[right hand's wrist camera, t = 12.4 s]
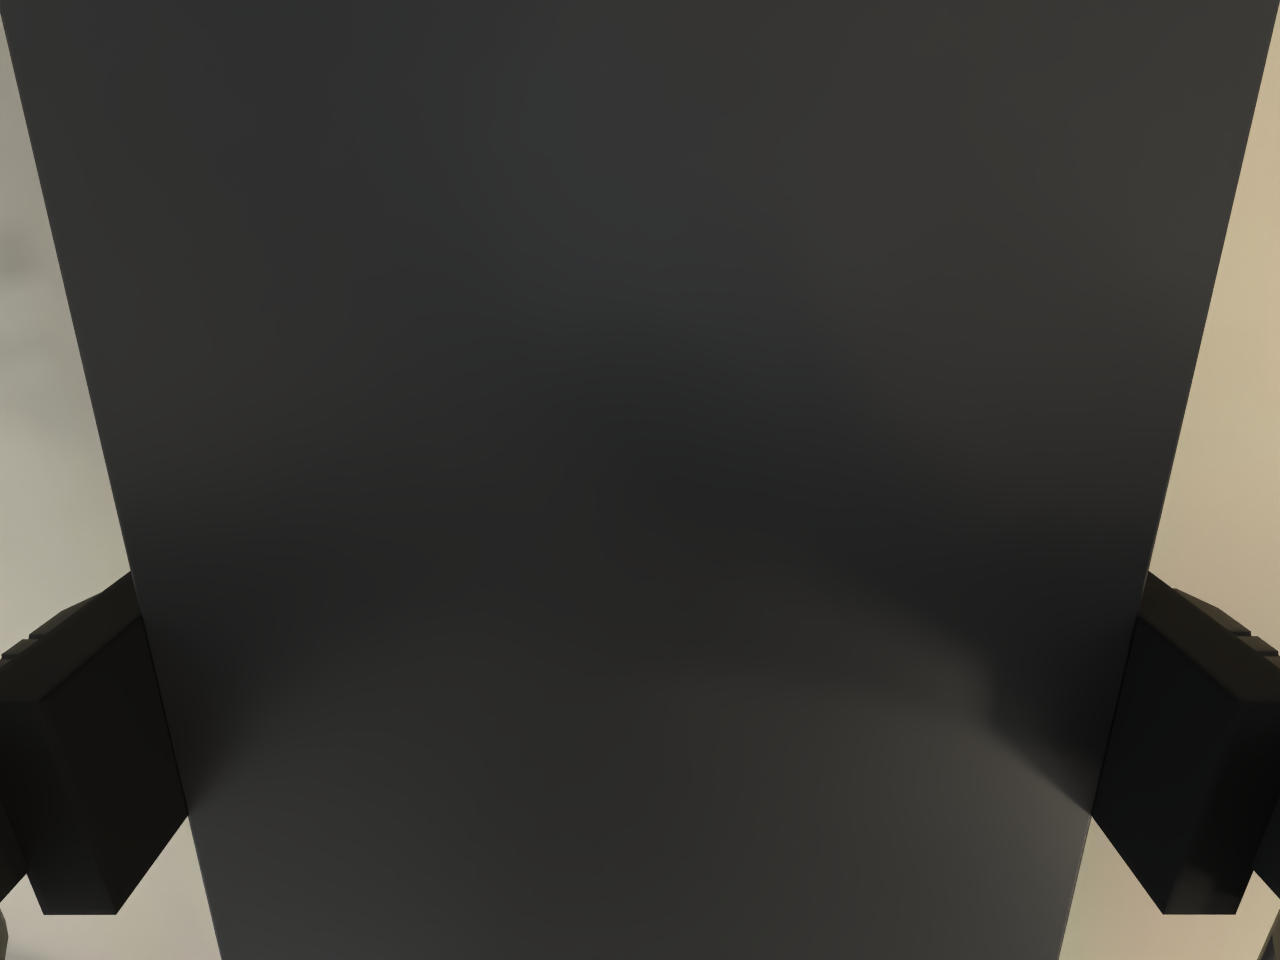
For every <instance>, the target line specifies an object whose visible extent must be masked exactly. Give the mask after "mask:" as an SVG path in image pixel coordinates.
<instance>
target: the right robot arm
mask: <svg viewBox="0 0 1280 960" xmlns="http://www.w3.org/2000/svg"><path fill="white" fill-rule="evenodd" d="M187 816H188V814H187V810H186V805H185V801H184V797H183V792H182V788H181V784H180V780H179V775H178V771H177V767H176V762H175V758H174V754H173V750H172V745H171V741H170V737H169V732H168V728H167V724H166V720H165V715H164V711H163V707H162V702H161V698H160V694H159V690H158V685H157V681H156V677H155V673H154V668H153V664H152V660H151V655H150V651H149V647H148V643H147V638H146V634H145V630H144V625H143V621H142V617H141V613H140V608H139V604H138V600H137V595H136V591H135V587H134V583H133V578H132V574H131V571H130V572H128V573H127V574H126V575H124V576H123V577H122V578H120V579H119V580H118V581H116V582H115V583H114V584H112V585H111V586H110V587H108V588H107V589H105V590H104V591H103V592H101V593H99V594H97V595H95V596H93V597H91V598H89V599H86V600H84V601H82V602H80V603H78V604H76V605H74V606H71V607H69V608H67V609H65V610H63V611H61V612H60V613H58V614H57V615H56V616H54V617H53V618H51V619H50V620H49V621H47V622H46V623H44V624H43V625H42V626H40V627H39V628H38V629H36V630H35V631H33V632H32V633H31V634H29V639H22V640H21V641H20V642H18V643H17V644H15V645H14V646H13V647H11V648H10V649H9V650H7V651H6V652H4V653H3V654H2V658H1V660H0V902H1V901H2V900H3V899H4V898H5V897H6V896H7V894H8V893H9V892H10V891H11V890H12V889H13V888H14V887H15V886H16V884H17V883H18V882H19V881H20V880H21V879H22V878H23V877H24V876H25V874H26V873H27V876H28V878H29V880H30V883H31V885H32V888H33V890H34V892H35V895H36V897H37V900H38V902H39V905H40V907H41V909H42V912H43V914H44V915H116V914H117V913H118V911H119V910H120V909H121V907H122V906H123V904H124V903H125V902H126V900H127V899H128V897H129V896H130V895H131V893H132V892H133V891H134V889H135V888H136V886H137V885H138V884H139V882H140V881H141V880H142V878H143V877H144V875H145V874H146V873H147V871H148V870H149V869H150V867H151V866H152V864H153V863H154V862H155V860H156V859H157V857H158V856H159V855H160V853H161V852H162V851H163V849H164V848H165V846H166V845H167V844H168V842H169V841H170V840H171V838H172V837H173V835H174V834H175V833H176V831H177V830H178V828H179V827H180V826H181V824H182V823H183V822H184V820H185V819H186V817H187ZM1092 817H1093V818H1094V820H1095V821H1096V823H1097V824H1098V825H1099V827H1100V828H1101V830H1102V831H1103V832H1104V834H1105V835H1106V836H1107V838H1108V839H1109V841H1110V842H1111V843H1112V845H1113V846H1114V847H1115V849H1116V850H1117V852H1118V853H1119V854H1120V856H1121V857H1122V859H1123V860H1124V861H1125V863H1126V864H1127V865H1128V867H1129V868H1130V870H1131V871H1132V872H1133V874H1134V875H1135V876H1136V878H1137V879H1138V881H1139V882H1140V883H1141V885H1142V886H1143V888H1144V889H1145V890H1146V892H1147V893H1148V894H1149V896H1150V897H1151V899H1152V900H1153V901H1154V903H1155V904H1156V905H1157V907H1158V908H1159V910H1160V911H1161V912H1162V914H1211V915H1235V914H1236V912H1237V909H1238V907H1239V904H1240V902H1241V899H1242V897H1243V895H1244V892H1245V890H1246V887H1247V885H1248V883H1249V880H1250V878H1251V875H1252V873H1253V870H1254V871H1255V872H1256V873H1257V874H1258V875H1259V877H1260V878H1261V879H1262V880H1263V881H1264V882H1265V883H1266V884H1267V885H1268V887H1269V888H1270V889H1271V890H1272V891H1273V892H1274V893H1275V894H1276V895H1277V896H1278V898H1279V899H1280V656H1279V655H1278V651H1277V650H1276V649H1274V648H1273V647H1272V646H1270V645H1269V644H1267V643H1266V642H1265V641H1263V640H1262V639H1260V638H1259V637H1258V636H1251V631H1249V630H1248V629H1247V628H1245V627H1244V626H1242V625H1241V624H1240V623H1238V622H1237V621H1235V620H1234V619H1233V618H1231V617H1230V616H1228V615H1227V614H1226V613H1224V612H1223V611H1221V610H1220V609H1219V608H1217V607H1215V606H1212V605H1210V604H1208V603H1206V602H1204V601H1202V600H1200V599H1197V598H1195V597H1193V596H1191V595H1189V594H1187V593H1184V592H1182V591H1180V590H1178V589H1172V588H1171V587H1170V586H1168V585H1167V584H1166V583H1164V582H1163V581H1162V580H1160V579H1159V578H1158V577H1156V576H1155V575H1154V574H1152V573H1151V572H1149V571H1148V574H1147V578H1146V583H1145V587H1144V591H1143V596H1142V600H1141V604H1140V609H1139V613H1138V617H1137V622H1136V626H1135V630H1134V635H1133V639H1132V643H1131V648H1130V652H1129V656H1128V661H1127V665H1126V669H1125V674H1124V678H1123V682H1122V687H1121V691H1120V695H1119V699H1118V704H1117V708H1116V712H1115V717H1114V721H1113V725H1112V730H1111V734H1110V738H1109V743H1108V747H1107V751H1106V756H1105V760H1104V764H1103V769H1102V773H1101V777H1100V782H1099V786H1098V790H1097V795H1096V799H1095V803H1094V808H1093V812H1092ZM7 942H8V932H7V926H6V921H5V918H4V916H3V914H2V912H1V909H0V960H5V954H6V948H7ZM1257 960H1280V909H1279V912H1278V914H1277V916H1276V918H1275V921H1274V923H1273V925H1272V928H1271V930H1270V932H1269V934H1268V937H1267V939H1266V941H1265V943H1264V946H1263V948H1262V950H1261V952H1260V955H1259V957H1258V959H1257Z"/></svg>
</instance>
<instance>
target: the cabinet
mask: <svg viewBox="0 0 1280 960" xmlns="http://www.w3.org/2000/svg"><path fill="white" fill-rule="evenodd" d="M1279 2H1280V0H0V13H1V17H2V21H3V26H4V30H5V34H6V39H7V43H8V47H9V51H10V56H11V60H12V64H13V69H14V73H15V77H16V81H17V86H18V90H19V94H20V99H21V103H22V107H23V111H24V116H25V120H26V124H27V129H28V133H29V137H30V141H31V146H32V150H33V154H34V159H35V163H36V167H37V171H38V176H39V180H40V184H41V189H42V193H43V197H44V201H45V206H46V210H47V214H48V218H49V223H50V227H51V231H52V236H53V240H54V244H55V248H56V253H57V257H58V261H59V266H60V270H61V274H62V278H63V283H64V287H65V291H66V296H67V300H68V304H69V308H70V313H71V317H72V321H73V326H74V330H75V334H76V338H77V343H78V347H79V351H80V356H81V360H82V364H83V368H84V373H85V377H86V381H87V386H88V390H89V394H90V398H91V403H92V407H93V411H94V416H95V420H96V424H97V428H98V433H99V437H100V441H101V445H102V450H103V454H104V458H105V463H106V467H107V471H108V475H109V480H110V484H111V488H112V493H113V497H114V501H115V505H116V510H117V514H118V518H119V523H120V527H121V531H122V535H123V540H124V544H125V548H126V553H127V557H128V561H129V565H130V570H131V574H132V578H133V583H134V587H135V591H136V595H137V600H138V604H139V608H140V613H141V617H142V621H143V625H144V630H145V634H146V638H147V643H148V647H149V651H150V655H151V660H152V664H153V668H154V673H155V677H156V681H157V685H158V690H159V694H160V698H161V702H162V707H163V711H164V715H165V720H166V724H167V728H168V732H169V737H170V741H171V745H172V750H173V754H174V758H175V762H176V767H177V771H178V775H179V780H180V784H181V788H182V792H183V797H184V801H185V805H186V810H187V814H188V818H189V822H190V827H191V831H192V835H193V840H194V844H195V848H196V852H197V857H198V861H199V865H200V870H201V874H202V878H203V882H204V887H205V891H206V895H207V900H208V904H209V908H210V912H211V917H212V921H213V925H214V930H215V934H216V938H217V942H218V947H219V951H220V955H221V959H222V960H1058V959H1059V955H1060V951H1061V946H1062V942H1063V938H1064V933H1065V929H1066V925H1067V920H1068V916H1069V912H1070V907H1071V903H1072V899H1073V894H1074V890H1075V886H1076V881H1077V877H1078V873H1079V868H1080V864H1081V860H1082V855H1083V851H1084V847H1085V842H1086V838H1087V834H1088V829H1089V825H1090V821H1091V816H1092V812H1093V808H1094V803H1095V799H1096V795H1097V790H1098V786H1099V782H1100V777H1101V773H1102V769H1103V764H1104V760H1105V756H1106V751H1107V747H1108V743H1109V738H1110V734H1111V730H1112V725H1113V721H1114V717H1115V712H1116V708H1117V704H1118V699H1119V695H1120V691H1121V687H1122V682H1123V678H1124V674H1125V669H1126V665H1127V661H1128V656H1129V652H1130V648H1131V643H1132V639H1133V635H1134V630H1135V626H1136V622H1137V617H1138V613H1139V609H1140V604H1141V600H1142V596H1143V591H1144V587H1145V583H1146V578H1147V574H1148V570H1149V565H1150V561H1151V557H1152V552H1153V548H1154V544H1155V539H1156V535H1157V531H1158V526H1159V522H1160V518H1161V513H1162V509H1163V505H1164V500H1165V496H1166V492H1167V487H1168V483H1169V479H1170V474H1171V470H1172V466H1173V461H1174V457H1175V453H1176V448H1177V444H1178V440H1179V435H1180V431H1181V427H1182V422H1183V418H1184V414H1185V409H1186V405H1187V401H1188V396H1189V392H1190V388H1191V383H1192V379H1193V375H1194V370H1195V366H1196V362H1197V357H1198V353H1199V349H1200V344H1201V340H1202V336H1203V331H1204V327H1205V323H1206V318H1207V314H1208V310H1209V305H1210V301H1211V297H1212V292H1213V288H1214V284H1215V279H1216V275H1217V271H1218V266H1219V262H1220V258H1221V253H1222V249H1223V245H1224V240H1225V236H1226V232H1227V227H1228V223H1229V219H1230V214H1231V210H1232V206H1233V201H1234V197H1235V193H1236V188H1237V184H1238V180H1239V175H1240V171H1241V167H1242V162H1243V158H1244V154H1245V149H1246V145H1247V141H1248V136H1249V132H1250V128H1251V123H1252V119H1253V115H1254V110H1255V106H1256V102H1257V97H1258V93H1259V89H1260V84H1261V80H1262V76H1263V71H1264V67H1265V63H1266V58H1267V54H1268V50H1269V45H1270V41H1271V37H1272V32H1273V28H1274V24H1275V19H1276V15H1277V11H1278V6H1279Z"/></svg>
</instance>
